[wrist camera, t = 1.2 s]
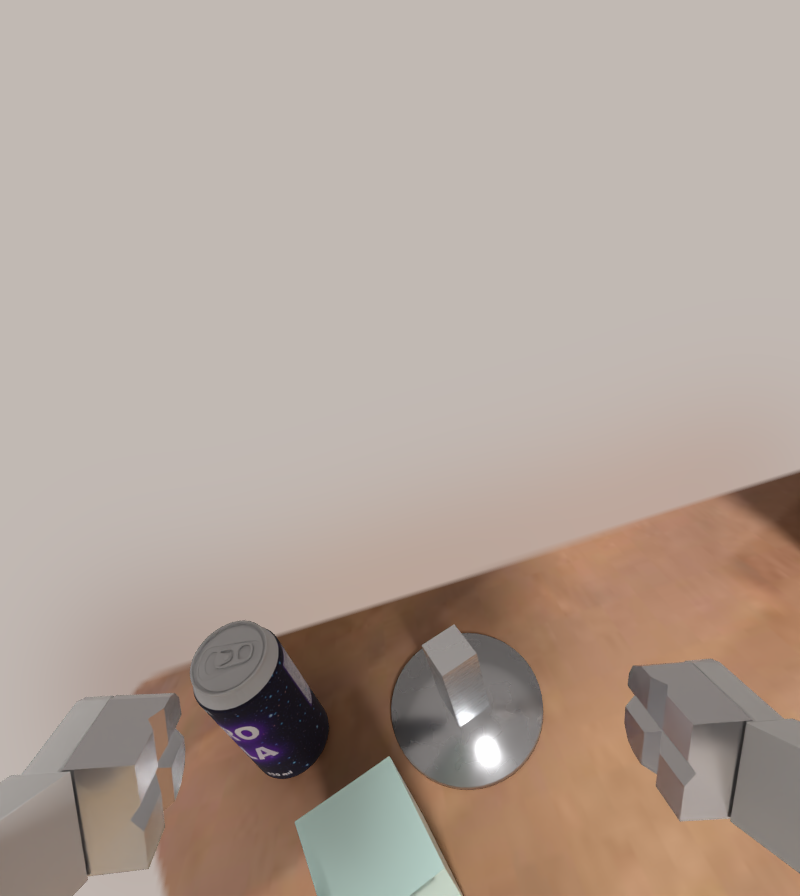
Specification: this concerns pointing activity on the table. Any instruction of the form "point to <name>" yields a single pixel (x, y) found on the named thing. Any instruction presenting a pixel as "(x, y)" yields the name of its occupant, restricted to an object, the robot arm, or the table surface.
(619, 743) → the table surface
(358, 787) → the mint green lidded box
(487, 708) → the post
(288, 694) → the beverage can
